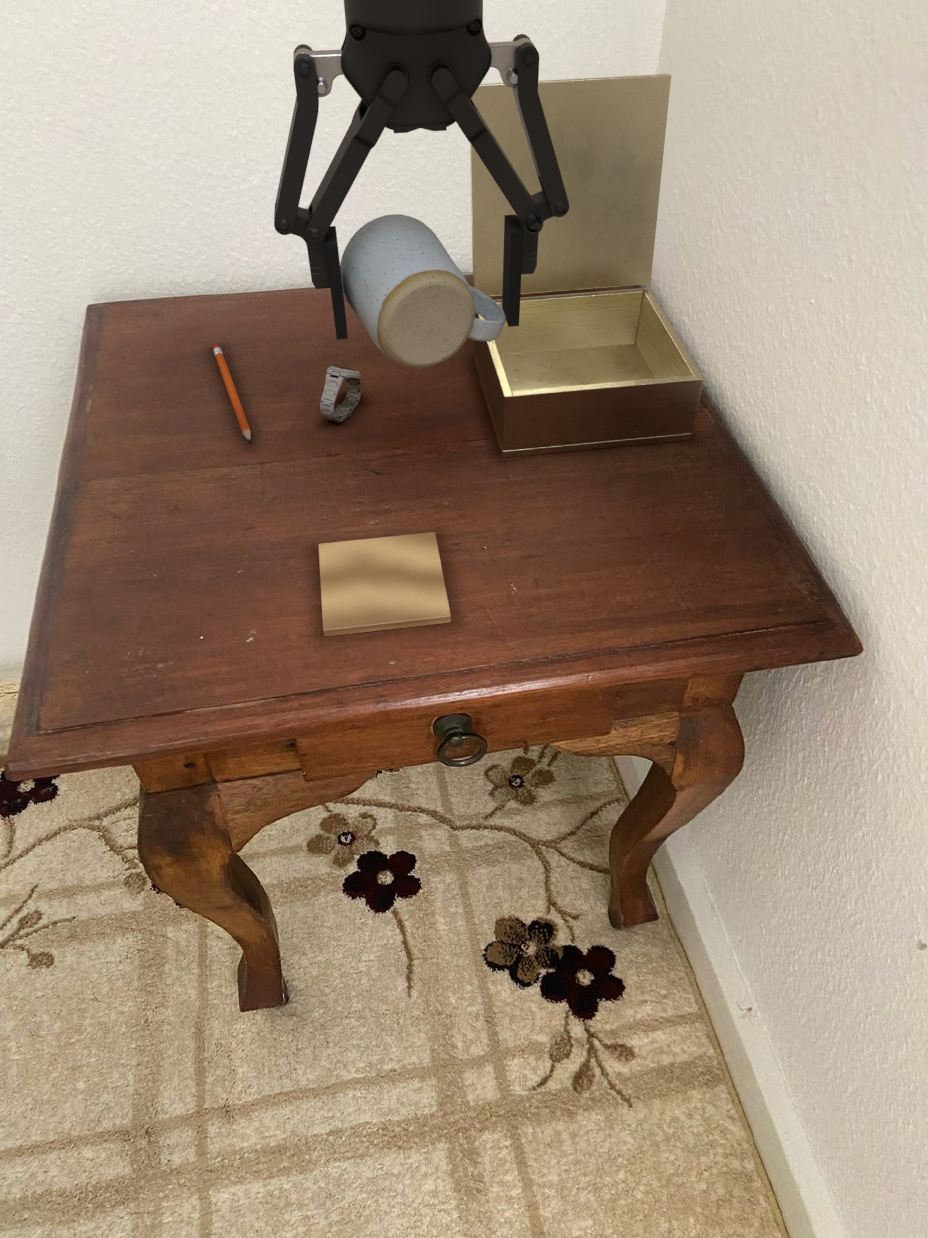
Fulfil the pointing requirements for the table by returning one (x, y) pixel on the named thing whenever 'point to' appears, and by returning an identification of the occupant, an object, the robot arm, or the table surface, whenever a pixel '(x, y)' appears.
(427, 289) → the ceramic mug
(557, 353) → the open metal box
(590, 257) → the box lid
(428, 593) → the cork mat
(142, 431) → the table surface
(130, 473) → the table surface
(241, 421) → the pencil
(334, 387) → the wristwatch
